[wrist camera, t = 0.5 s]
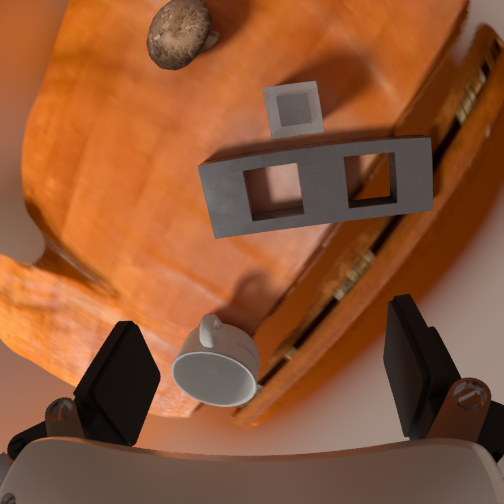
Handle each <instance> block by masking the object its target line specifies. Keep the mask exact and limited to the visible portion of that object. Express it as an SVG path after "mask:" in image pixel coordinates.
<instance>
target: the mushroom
mask: <svg viewBox="0 0 504 504" xmlns="http://www.w3.org/2000/svg"><path fill="white" fill-rule="evenodd" d="M211 21H212V17H211V14H210V12H209V9H208V7H207V5H206V4H205V3H204V2H202V1H201V0H172V1H170V2H168V3H167V4H166V5H165V6H163V7H162V8H161V9H160V10H159V11H158V13H157V14H156V15H155V17H154V18H153V20H152V23H151V26H150V28H149V33H148V38H147V47H148V51H149V56H150V58H151V59H152V60H153V61H154V62H155V63H156V64H157V65H158V66H159V67H160V68H162V69H167V70H179V69H181V68H183V67H185V66H187V65H188V64H189V63H191V62H192V61H193V60H194V59H195V58H196V57H197V55H198V54H199V52H202V51H205V50H207V49H209V48H211V47H212V46H213V45H214V44H215V43H216V42H217V41H218V40H219V37H220V33H219V32H217V31H211Z"/></svg>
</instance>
